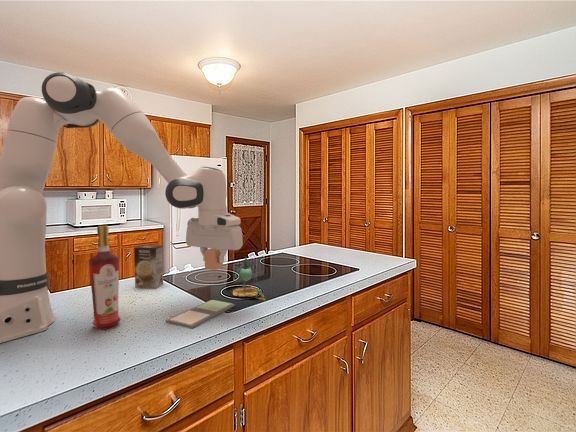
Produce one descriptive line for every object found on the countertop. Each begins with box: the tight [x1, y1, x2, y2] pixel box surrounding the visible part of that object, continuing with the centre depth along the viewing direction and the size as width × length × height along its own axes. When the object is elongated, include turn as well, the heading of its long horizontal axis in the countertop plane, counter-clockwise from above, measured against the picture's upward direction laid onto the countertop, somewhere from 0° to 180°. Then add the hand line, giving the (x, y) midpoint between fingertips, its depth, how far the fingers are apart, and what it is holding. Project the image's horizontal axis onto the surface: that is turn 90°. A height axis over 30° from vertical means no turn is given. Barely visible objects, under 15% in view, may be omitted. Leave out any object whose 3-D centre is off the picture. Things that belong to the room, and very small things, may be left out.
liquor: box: [88, 225, 121, 330], centre depth 91 cm, size 7×7×28 cm
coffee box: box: [133, 244, 164, 290], centre depth 130 cm, size 9×6×16 cm
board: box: [165, 299, 236, 329], centre depth 101 cm, size 20×10×1 cm, turn 154°
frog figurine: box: [232, 257, 266, 301], centre depth 120 cm, size 10×18×15 cm, turn 34°
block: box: [204, 248, 224, 271], centre depth 105 cm, size 4×4×6 cm
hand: (213, 261), depth 105 cm, fingers closed on block, 4 cm apart
